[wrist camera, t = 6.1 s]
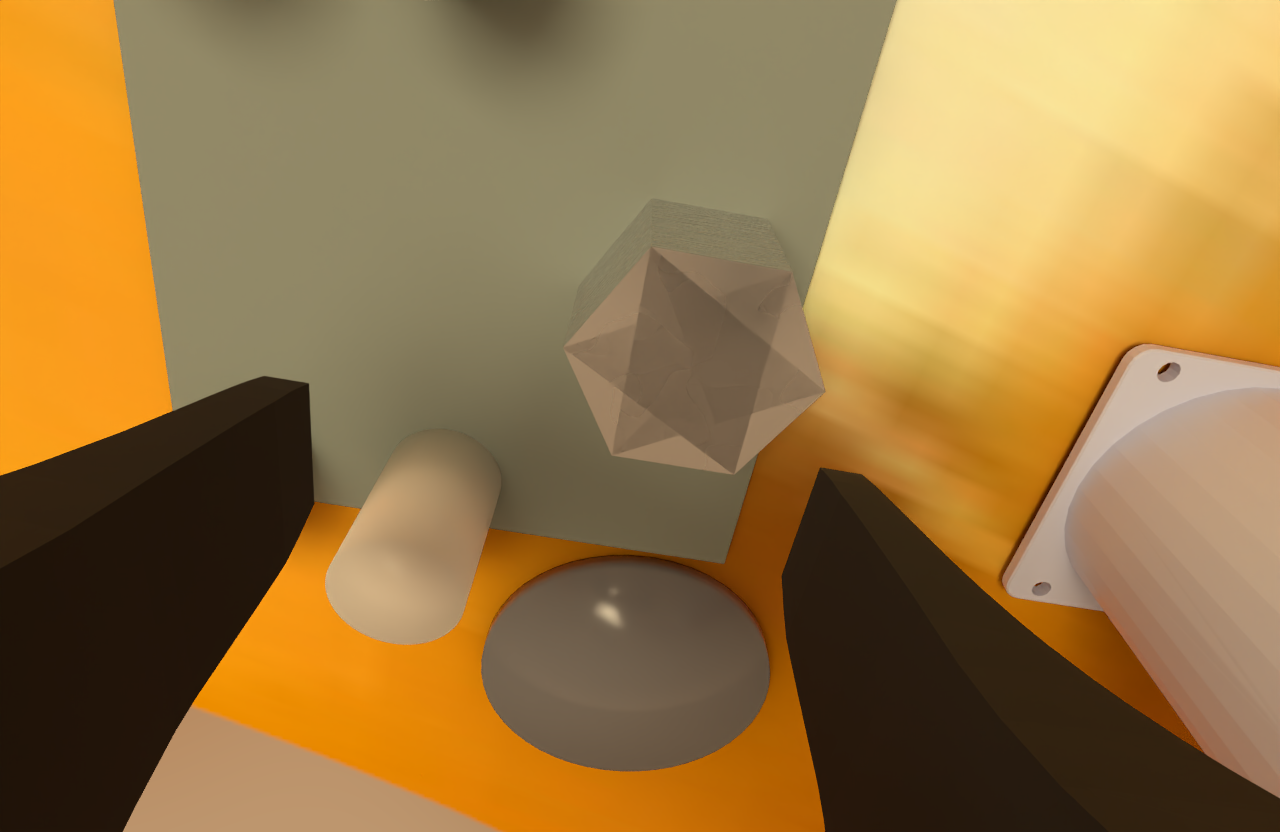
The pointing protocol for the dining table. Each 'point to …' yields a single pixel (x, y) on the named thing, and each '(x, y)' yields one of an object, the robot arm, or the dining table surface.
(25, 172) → the dining table surface
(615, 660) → the grey round coaster
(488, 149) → the mat
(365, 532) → the beige capsules
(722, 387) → the faceted crystal gem
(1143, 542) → the robot arm
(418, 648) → the dining table surface
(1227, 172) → the dining table surface
